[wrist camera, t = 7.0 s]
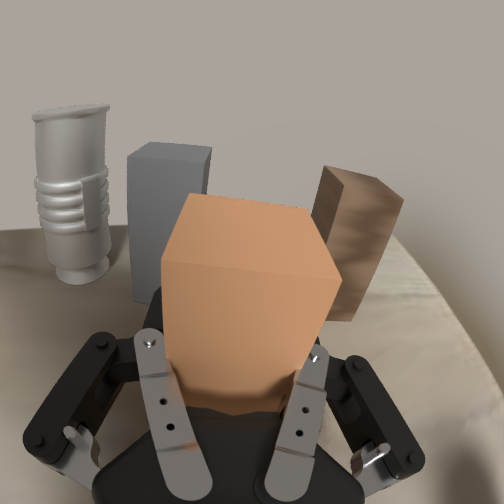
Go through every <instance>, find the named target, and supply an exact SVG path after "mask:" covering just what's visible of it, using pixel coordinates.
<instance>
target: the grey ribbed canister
mask: <svg viewBox="0 0 504 504" xmlns="http://www.w3.org/2000/svg"><path fill="white" fill-rule="evenodd" d="M109 109H110V104H85V105H74V106H67V107H59V108H54V109H48V110H44V111H39V112H36V113H33V114H32V120H33V121H34V122H35V152H36V168H37V176H36V178H35V180H34V185H35V188H36V189H37V191H36V201H37V202H38V213H39V215H40V217H39V218H40V225H41V227H42V228H43V229H44V233H45V241H46V249H47V255H48V259H49V261H50V262H51V263H52V264H53V265H55V266H56V276H57V277H58V278H59V280H61V281H62V282H64V283H67V284H71V285H82V284H87V283H90V282H93V281H95V280H97V279H99V278H100V277H102V276H103V275H104V274H105V273H106V272H107V271H108V269H109V266H110V261H109V259H108V257H107V254H108V253H109V252H110V250H111V247H112V242H111V237H110V231H109V225H108V219H107V217H108V215H109V211H110V209H109V205H108V202H109V193H108V192H107V190H108V185H109V184H108V180H107V179H106V178H107V177H108V168H107V166H106V165H105V126H106V112H107V111H108V110H109Z"/></svg>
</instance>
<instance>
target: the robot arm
mask: <svg viewBox="0 0 504 504" xmlns="http://www.w3.org/2000/svg"><path fill="white" fill-rule="evenodd" d="M133 381H140V384H141V389H142V394H143V399H144V404H145V409H146V413H147V417H148V422H149V426H150V430H149V431H148V432H147V433H145V434H144V435H143V436H142V437H141V438H140V439H138V440H137V441H136V442H135V443H133V444H132V445H131V446H130V447H129V448H127V449H126V450H125V451H124V452H122V453H121V454H120V455H119V456H117V457H116V458H115V459H114V460H112V461H111V462H110V463H108V464H107V465H106V466H105V467H103V468H102V469H101V468H100V466H99V463H98V457H99V453H100V446H99V443H98V442H97V440H96V439H95V438H94V437H95V435H96V433H97V431H98V429H99V428H100V426H101V424H102V422H103V420H104V419H105V417H106V415H107V413H108V411H109V410H110V408H111V406H112V404H113V403H114V401H115V399H116V397H117V396H118V394H119V392H120V390H121V389H122V387H123V385H124V383H125V382H133ZM326 400H327V402H328V404H329V406H330V408H331V410H332V412H333V414H334V416H335V418H336V420H337V422H338V424H339V426H340V428H341V430H342V433H343V435H344V437H345V439H346V441H347V443H348V445H349V447H350V449H351V451H352V453H353V455H352V457H351V460H350V464H351V467H350V468H351V470H352V475H351V474H350V473H349V472H348V471H347V470H346V469H344V468H343V467H342V466H341V465H340V464H339V463H338V462H337V461H335V460H334V459H333V458H332V457H331V456H330V455H329V454H328V453H327V452H326V451H325V450H323V449H322V448H321V447H320V446H319V445H318V444H317V440H318V435H319V431H320V426H321V421H322V416H323V411H324V406H325V401H326ZM23 444H24V446H25V448H26V450H27V451H28V452H29V453H30V454H32V455H33V456H34V457H36V458H37V459H38V460H39V461H40V462H41V463H43V464H44V465H46V466H47V467H49V468H50V469H52V470H54V471H56V472H58V473H59V474H62V475H65V476H68V477H69V478H71V479H73V480H74V481H76V482H77V483H79V484H81V485H82V486H84V487H86V488H88V489H89V490H91V491H92V497H93V500H94V503H95V504H364V503H365V498H366V497H368V496H370V495H372V494H374V493H376V492H378V491H379V490H383V489H385V488H387V487H389V486H392V485H394V484H396V483H398V482H400V481H402V480H404V479H406V478H408V477H410V476H412V475H414V474H415V473H417V472H419V471H420V470H421V469H422V468H423V467H424V464H425V455H424V453H423V451H422V449H421V448H420V446H419V444H418V442H417V441H416V439H415V437H414V436H413V434H412V432H411V431H410V429H409V427H408V425H407V424H406V422H405V420H404V419H403V417H402V415H401V414H400V412H399V411H398V409H397V407H396V406H395V404H394V402H393V401H392V399H391V397H390V396H389V394H388V393H387V391H386V389H385V388H384V386H383V385H382V383H381V381H380V380H379V378H378V377H377V375H376V373H375V372H374V370H373V369H372V367H371V366H370V364H369V363H368V361H367V360H366V359H364V358H363V357H361V356H357V355H352V356H349V357H348V358H347V359H346V360H342V359H338V358H334V357H332V356H330V355H329V353H328V351H327V350H326V349H325V348H324V347H322V346H321V345H320V342H319V338H318V336H317V339H316V341H315V343H314V345H313V347H312V349H311V351H310V353H309V355H308V357H307V359H306V361H305V363H304V365H303V367H302V369H296V371H295V373H294V375H293V378H292V381H291V385H290V388H289V390H288V393H287V394H283V396H282V398H281V400H280V404H279V407H278V410H277V412H260V411H257V412H252V413H246V414H241V415H229V414H226V413H222V412H219V411H216V410H213V409H209V408H199V407H191V406H186V408H185V405H184V402H183V399H182V395H181V392H180V389H179V385H178V382H177V378H176V375H175V373H174V372H173V370H172V366H171V362H170V359H167V358H166V356H165V343H164V329H163V312H162V287H161V286H160V287H159V288H158V289H157V290H156V291H155V292H154V294H153V297H152V301H151V303H150V307H149V309H148V312H147V315H146V319H145V322H144V325H143V328H142V330H140V331H139V332H137V333H136V335H135V336H134V337H132V338H127V339H116V338H115V337H114V336H113V335H112V334H110V333H108V332H98V333H95V334H93V335H92V336H91V337H90V338H89V339H88V341H87V342H86V343H85V345H84V346H83V347H82V349H81V350H80V351H79V353H78V354H77V355H76V357H75V358H74V359H73V361H72V362H71V363H70V365H69V366H68V367H67V369H66V370H65V372H64V373H63V374H62V376H61V377H60V379H59V380H58V381H57V383H56V384H55V386H54V387H53V389H52V390H51V391H50V393H49V394H48V396H47V397H46V399H45V400H44V402H43V403H42V405H41V406H40V408H39V409H38V411H37V412H36V414H35V415H34V417H33V418H32V420H31V422H30V423H29V425H28V426H27V428H26V429H25V431H24V434H23Z"/></svg>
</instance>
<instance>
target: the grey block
mask: <svg viewBox="0 0 504 504" xmlns="http://www.w3.org/2000/svg"><path fill="white" fill-rule="evenodd" d="M211 151H212V147H206V146H196V145H186V144H174V143H160V142H149V143H147V144H146V145H144V146H143V147H141V148H140V149H138V150H137V151H135V152H134V153H132V154H131V155H129V156H128V157H127V212H128V235H129V250H130V263H131V274H132V283H133V292H134V300H135V302H139V303H146V304H150V303H151V301H152V297H153V294H154V292H155V291H156V290H157V289H158V288H159V287H160V286H161V258H162V256H163V253H164V251H165V248H166V246H167V243H168V241H169V238H170V236H171V234H172V231H173V229H174V227H175V224H176V222H177V220H178V217H179V215H180V213H181V211H182V208H183V206H184V204H185V202H186V199H187V197H188V195H189V193H196V194H204V195H206V194H207V185H208V176H209V168H210V160H211Z"/></svg>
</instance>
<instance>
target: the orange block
mask: <svg viewBox="0 0 504 504" xmlns="http://www.w3.org/2000/svg"><path fill="white" fill-rule="evenodd" d="M341 282H342V278H341V276H340V274H339V272H338V270H337V268H336V265H335V263H334V261H333V259H332V257H331V255H330V253H329V251H328V249H327V247H326V245H325V243H324V241H323V239H322V237H321V235H320V233H319V231H318V229H317V227H316V225H315V223H314V221H313V219H312V218H311V216H310V214H309V212H308V210H307V209H302V208H297V207H290V206H284V205H278V204H271V203H264V202H257V201H251V200H243V199H236V198H228V197H220V196H212V195H204V194H196V193H189V195H188V197H187V199H186V202H185V204H184V206H183V208H182V211H181V213H180V215H179V217H178V220H177V222H176V224H175V227H174V229H173V231H172V234H171V236H170V238H169V241H168V243H167V246H166V248H165V251H164V253H163V256H162V258H161V287H162V312H163V329H164V343H165V356H166V358H167V359H170V362H171V366H172V370H173V372H174V373H175V375H176V378H177V382H178V385H179V389H180V392H181V395H182V399H183V402H184V405H185V408H186V406H191V407H199V408H209V409H213V410H216V411H219V412H222V413H226V414H229V415H241V414H246V413H252V412H257V411H260V412H277V410H278V407H279V404H280V400H281V398H282V396H283V394H287V393H288V390H289V388H290V385H291V381H292V378H293V375H294V373H295V371H296V369H302V367H303V365H304V363H305V361H306V359H307V357H308V355H309V353H310V351H311V349H312V347H313V345H314V343H315V341H316V339H317V336H318V334H319V332H320V330H321V328H322V326H323V324H324V321H325V319H326V317H327V315H328V313H329V310H330V308H331V306H332V304H333V301H334V299H335V297H336V294H337V292H338V290H339V287H340V285H341Z"/></svg>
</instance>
